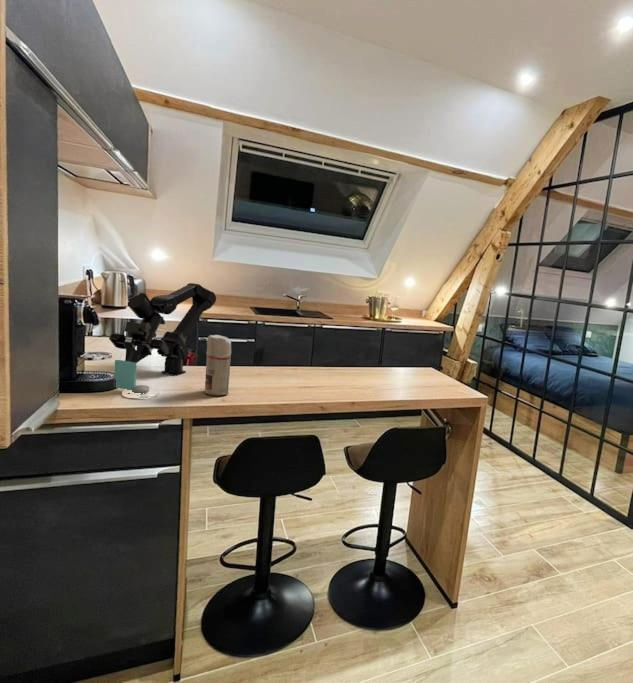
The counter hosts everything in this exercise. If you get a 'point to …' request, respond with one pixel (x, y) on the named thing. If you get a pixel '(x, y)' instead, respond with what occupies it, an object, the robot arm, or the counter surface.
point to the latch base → (149, 393)
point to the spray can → (217, 365)
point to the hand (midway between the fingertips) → (128, 365)
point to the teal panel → (127, 377)
